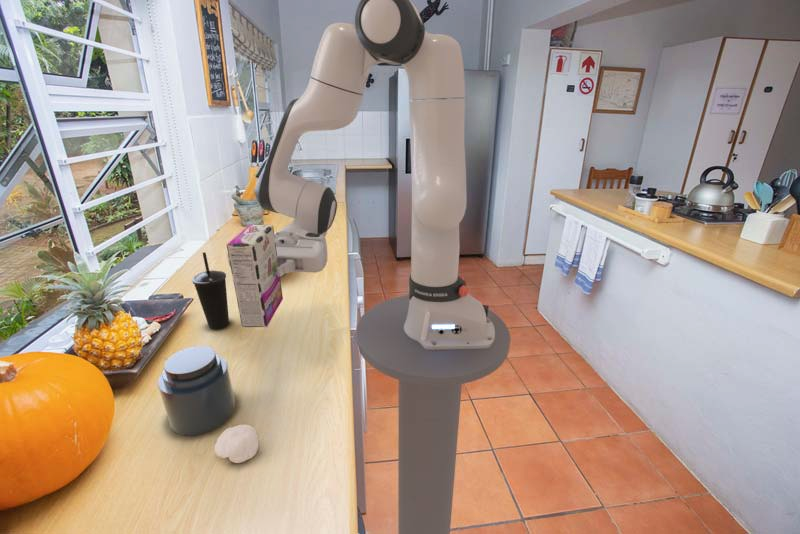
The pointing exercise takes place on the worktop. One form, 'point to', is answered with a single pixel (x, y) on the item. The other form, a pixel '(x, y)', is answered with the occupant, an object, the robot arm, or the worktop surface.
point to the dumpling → (237, 443)
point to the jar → (196, 391)
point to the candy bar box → (255, 274)
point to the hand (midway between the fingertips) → (260, 272)
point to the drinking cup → (212, 296)
